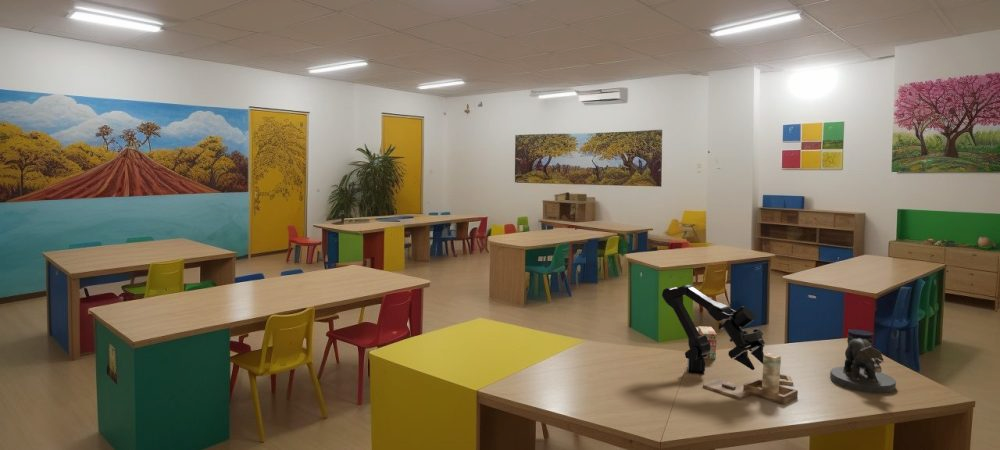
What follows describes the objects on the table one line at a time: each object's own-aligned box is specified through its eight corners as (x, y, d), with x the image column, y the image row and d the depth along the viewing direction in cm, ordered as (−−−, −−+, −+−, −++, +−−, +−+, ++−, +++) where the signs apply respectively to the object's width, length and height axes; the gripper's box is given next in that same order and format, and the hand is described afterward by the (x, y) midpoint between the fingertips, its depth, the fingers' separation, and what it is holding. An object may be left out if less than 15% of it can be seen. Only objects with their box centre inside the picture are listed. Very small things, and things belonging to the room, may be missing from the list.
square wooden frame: (768, 382, 245) (768, 379, 245) (765, 375, 254) (766, 372, 253) (793, 385, 242) (793, 382, 242) (789, 377, 251) (789, 374, 251)
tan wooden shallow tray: (743, 391, 235) (743, 384, 234) (757, 385, 241) (757, 378, 241) (783, 404, 222) (783, 397, 222) (797, 397, 229) (797, 390, 229)
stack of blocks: (693, 345, 296) (694, 321, 295) (706, 345, 295) (707, 321, 294) (701, 358, 275) (702, 333, 274) (715, 359, 274) (717, 333, 273)
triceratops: (845, 395, 232) (848, 350, 230) (818, 366, 266) (820, 326, 264) (912, 401, 227) (915, 354, 225) (875, 370, 261) (878, 329, 259)
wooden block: (761, 392, 232) (763, 355, 230) (767, 389, 235) (769, 352, 233) (772, 396, 228) (774, 358, 227) (778, 393, 231) (781, 356, 230)
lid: (702, 387, 239) (703, 382, 239) (718, 381, 246) (718, 376, 246) (739, 399, 227) (740, 394, 227) (754, 392, 234) (755, 388, 233)
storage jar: (862, 360, 274) (864, 328, 272) (876, 367, 264) (878, 335, 262) (841, 360, 273) (843, 328, 272) (854, 367, 264) (856, 335, 262)
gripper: (737, 326, 231) (762, 362, 223) (762, 319, 242) (786, 352, 235) (717, 341, 238) (741, 375, 230) (742, 333, 249) (766, 366, 242)
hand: (759, 367), depth 234 cm, fingers open, 9 cm apart
